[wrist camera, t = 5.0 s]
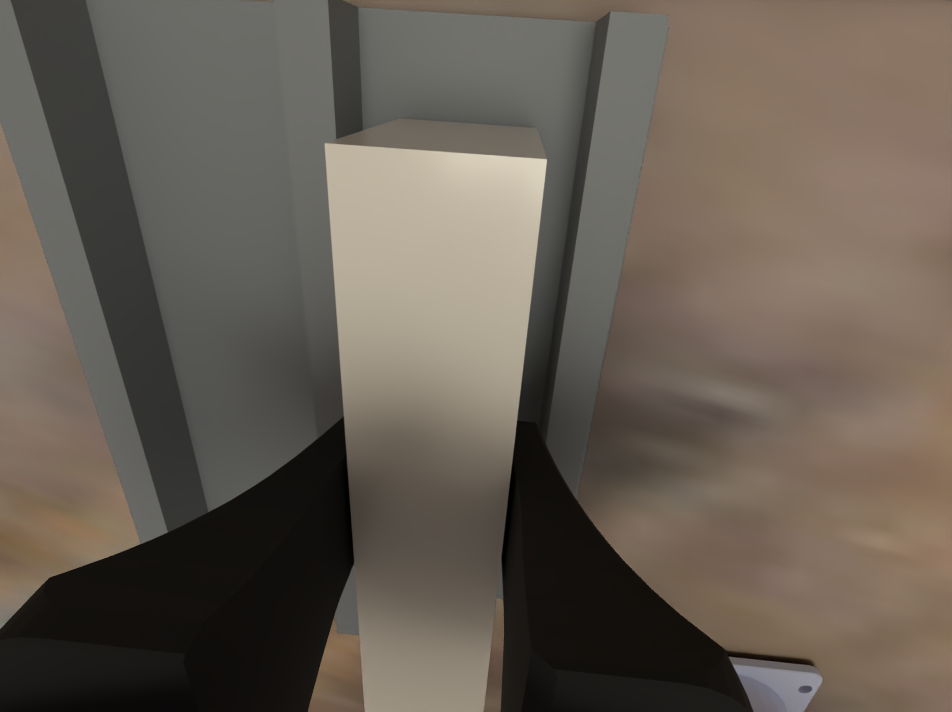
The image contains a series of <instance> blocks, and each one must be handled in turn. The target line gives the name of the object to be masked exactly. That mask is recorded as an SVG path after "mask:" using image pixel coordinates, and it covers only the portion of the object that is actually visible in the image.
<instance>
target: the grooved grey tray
mask: <svg viewBox="0 0 952 712" xmlns="http://www.w3.org/2000/svg"><path fill="white" fill-rule="evenodd" d="M668 16H669V15H664V14H647V13H631V12H615V11H610V12H609V13H608V14H606V15H605V16H604V17H602V18H601V19H600V20H598V21H597V22H585V21H569V20H553V19H537V18H521V17H504V16H488V15H472V14H456V13H440V12H424V11H408V10H392V9H376V8H359V7H356V6H354V5H352V4H349V3H347V2H345V1H342V0H273V2H263V1H247V0H0V122H1V125H2V128H3V131H4V134H5V137H6V140H7V143H8V146H9V149H10V152H11V155H12V158H13V161H14V164H15V167H16V170H17V173H18V176H19V179H20V182H21V185H22V188H23V191H24V194H25V197H26V200H27V203H28V206H29V209H30V212H31V215H32V218H33V221H34V224H35V227H36V230H37V233H38V236H39V239H40V242H41V245H42V248H43V251H44V254H45V257H46V260H47V263H48V266H49V269H50V272H51V275H52V278H53V281H54V284H55V287H56V290H57V293H58V296H59V299H60V302H61V305H62V308H63V311H64V314H65V317H66V320H67V323H68V326H69V329H70V332H71V335H72V338H73V341H74V344H75V347H76V350H77V353H78V356H79V359H80V362H81V365H82V368H83V371H84V374H85V377H86V380H87V383H88V386H89V389H90V392H91V395H92V398H93V401H94V404H95V407H96V410H97V413H98V416H99V419H100V422H101V425H102V428H103V431H104V434H105V437H106V440H107V443H108V446H109V449H110V452H111V455H112V458H113V461H114V464H115V467H116V470H117V473H118V476H119V479H120V482H121V485H122V488H123V491H124V494H125V497H126V500H127V503H128V506H129V509H130V512H131V515H132V518H133V521H134V524H135V527H136V530H137V533H138V536H139V539H140V542H141V544H142V543H145V542H147V541H149V540H152V539H154V538H156V537H159V536H161V535H163V534H165V533H167V532H170V531H172V530H174V529H176V528H178V527H180V526H183V525H184V524H186V523H188V522H190V521H192V520H194V519H196V518H198V517H200V516H202V515H204V514H206V513H208V512H210V511H211V510H213V509H215V508H217V507H219V506H221V505H223V504H225V503H226V502H228V501H230V500H232V499H233V498H235V497H237V496H238V495H240V494H242V493H243V492H245V491H247V490H248V489H250V488H251V487H253V486H255V485H256V484H258V483H259V482H261V481H262V480H264V479H265V478H267V477H268V476H270V475H271V474H272V473H274V472H275V471H276V470H278V469H279V468H281V467H282V466H283V465H285V464H286V463H287V462H289V461H290V460H291V459H293V458H294V457H295V456H297V455H298V454H299V453H300V452H302V451H303V450H304V449H305V448H307V447H308V446H309V445H310V444H311V443H313V442H314V441H315V440H316V439H318V438H319V437H320V436H321V435H322V434H324V433H325V432H326V431H327V430H328V429H329V428H331V427H332V426H333V425H334V424H335V423H336V422H337V421H339V420H340V419H341V418H342V417H343V416H344V411H343V397H342V383H341V369H340V354H339V340H338V326H337V312H336V298H335V284H334V270H333V256H332V242H331V228H330V214H329V200H328V185H327V171H326V157H325V143H327V142H330V141H333V140H336V139H339V138H342V137H345V136H348V135H351V134H354V133H357V132H360V131H363V130H366V129H369V128H372V127H375V126H378V125H381V124H384V123H387V122H390V121H393V120H396V119H399V118H402V119H417V120H431V121H445V122H459V123H474V124H488V125H502V126H516V127H531V128H537V130H538V133H539V136H540V139H541V142H542V145H543V148H544V151H545V154H546V157H547V165H546V174H545V183H544V191H543V200H542V209H541V217H540V226H539V235H538V243H537V252H536V261H535V269H534V278H533V287H532V295H531V304H530V313H529V321H528V330H527V339H526V347H525V356H524V365H523V373H522V382H521V391H520V399H519V408H518V417H517V421H526V422H536V424H537V425H538V426H539V427H540V430H541V433H542V436H543V438H544V441H545V443H546V445H547V448H548V450H549V452H550V454H551V456H552V458H553V460H554V462H555V464H556V466H557V468H558V469H559V471H560V473H561V475H562V477H563V478H564V480H565V482H566V484H567V485H568V487H569V489H570V490H571V492H572V494H573V495H574V497H575V498H576V500H577V495H578V490H579V485H580V479H581V474H582V469H583V464H584V459H585V454H586V449H587V444H588V439H589V434H590V428H591V423H592V418H593V413H594V408H595V403H596V398H597V393H598V388H599V383H600V377H601V372H602V367H603V362H604V357H605V352H606V347H607V342H608V337H609V332H610V326H611V321H612V316H613V311H614V306H615V301H616V296H617V291H618V286H619V280H620V275H621V270H622V265H623V260H624V255H625V250H626V245H627V240H628V235H629V229H630V224H631V219H632V214H633V209H634V204H635V199H636V194H637V189H638V184H639V178H640V173H641V168H642V163H643V158H644V153H645V148H646V143H647V138H648V133H649V127H650V122H651V117H652V112H653V107H654V102H655V97H656V92H657V87H658V82H659V76H660V71H661V66H662V61H663V56H664V51H665V46H666V41H667V36H668V31H669V27H666V26H667V21H668ZM497 598H500V599H503V582H502V562H501V564H500V573H499V581H498V590H497ZM335 616H336V626H337V633H342V634H351V635H359V622H358V608H357V594H356V580H355V566H354V565H353V567H352V570H351V572H350V575H349V578H348V580H347V583H346V585H345V588H344V590H343V593H342V595H341V598H340V601H339V603H338V606H337V609H336V612H335Z"/></svg>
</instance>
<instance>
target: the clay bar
mask: <svg viewBox="0 0 952 712" xmlns="http://www.w3.org/2000/svg"><path fill="white" fill-rule="evenodd" d="M325 157H326V171H327V185H328V200H329V214H330V228H331V242H332V256H333V270H334V284H335V298H336V312H337V326H338V340H339V354H340V369H341V383H342V397H343V411H344V425H345V439H346V453H347V467H348V481H349V495H350V509H351V524H352V538H353V552H354V566H355V580H356V594H357V608H358V622H359V636H360V650H361V664H362V678H363V693H364V707H365V712H483V711H484V703H485V694H486V685H487V677H488V668H489V659H490V651H491V642H492V633H493V625H494V616H495V607H496V599H497V590H498V581H499V573H500V564H501V555H502V547H503V538H504V529H505V521H506V512H507V503H508V495H509V486H510V477H511V469H512V460H513V451H514V443H515V434H516V425H517V417H518V408H519V399H520V391H521V382H522V373H523V365H524V356H525V347H526V339H527V330H528V321H529V313H530V304H531V295H532V287H533V278H534V269H535V261H536V252H537V243H538V235H539V226H540V217H541V209H542V200H543V191H544V183H545V174H546V165H547V157H546V154H545V151H544V148H543V145H542V142H541V139H540V136H539V133H538V130H537V128H531V127H516V126H502V125H488V124H474V123H459V122H445V121H431V120H417V119H402V118H399V119H396V120H393V121H390V122H387V123H384V124H381V125H378V126H375V127H372V128H369V129H366V130H363V131H360V132H357V133H354V134H351V135H348V136H345V137H342V138H339V139H336V140H333V141H330V142H327V143H325Z"/></svg>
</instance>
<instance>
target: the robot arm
mask: <svg viewBox="0 0 952 712" xmlns="http://www.w3.org/2000/svg"><path fill="white" fill-rule="evenodd" d="M501 562H502V582H503V603H504V651H503V675H502V697H501V712H804V710H805V709H806V707H807V706H808V704H809V702H810V701H811V699H812V697H813V696H814V694H815V693H816V691H817V689H818V688H819V686H820V684H821V683H822V680H823V679H822V677H821V675H820V673H819V671H818V669H817V668H816V667H814V666H810V665H803V664H793V663H784V662H775V661H766V660H756V659H747V658H738V657H728V655H727V653H726V651H725V649H724V648H722V647H721V646H720V645H718V644H717V643H716V642H715V641H713V640H712V639H711V638H709V637H708V636H707V635H706V634H704V633H703V632H702V631H701V630H699V629H698V628H697V627H695V626H694V625H693V624H692V623H690V622H689V621H688V620H687V619H685V618H684V617H683V616H681V615H680V614H679V613H678V612H677V611H675V610H674V609H673V608H672V607H671V606H670V605H669V604H668V603H666V602H665V601H664V600H663V599H662V598H661V597H660V596H659V595H658V594H656V593H655V592H654V591H653V590H652V589H651V588H650V587H649V586H648V585H647V584H646V583H645V582H644V581H643V580H642V579H641V578H640V577H639V576H638V575H637V574H636V573H635V572H634V571H633V570H632V569H631V568H630V567H629V566H628V565H627V564H626V563H625V562H624V561H623V560H622V558H621V557H620V556H619V555H618V554H617V553H616V551H615V550H614V549H613V548H612V547H611V546H610V544H609V543H608V542H607V541H606V540H605V538H604V537H603V536H602V535H601V533H600V532H599V531H598V530H597V528H596V527H595V526H594V524H593V523H592V522H591V520H590V519H589V517H588V516H587V515H586V513H585V512H584V510H583V509H582V507H581V506H580V504H579V503H578V501H577V500H576V498H575V497H574V495H573V494H572V492H571V490H570V489H569V487H568V485H567V484H566V482H565V480H564V478H563V477H562V475H561V473H560V471H559V469H558V468H557V466H556V464H555V462H554V460H553V458H552V456H551V454H550V452H549V450H548V448H547V445H546V443H545V441H544V438H543V436H542V433H541V430H540V427H539V426H538V425H537V424H536V422H526V421H517V425H516V434H515V443H514V451H513V460H512V469H511V477H510V486H509V495H508V503H507V512H506V521H505V529H504V538H503V547H502V555H501ZM353 565H354V552H353V538H352V524H351V509H350V495H349V481H348V467H347V453H346V439H345V425H344V416H343V417H342V418H341V419H340V420H339V421H337V422H336V423H335V424H334V425H333V426H332V427H331V428H329V429H328V430H327V431H326V432H325V433H324V434H322V435H321V436H320V437H319V438H318V439H316V440H315V441H314V442H313V443H311V444H310V445H309V446H308V447H307V448H305V449H304V450H303V451H302V452H300V453H299V454H298V455H297V456H295V457H294V458H293V459H291V460H290V461H289V462H287V463H286V464H285V465H283V466H282V467H281V468H279V469H278V470H276V471H275V472H274V473H272V474H271V475H270V476H268V477H267V478H265V479H264V480H262V481H261V482H259V483H258V484H256V485H255V486H253V487H251V488H250V489H248V490H247V491H245V492H243V493H242V494H240V495H238V496H237V497H235V498H233V499H232V500H230V501H228V502H226V503H225V504H223V505H221V506H219V507H217V508H215V509H213V510H211V511H210V512H208V513H206V514H204V515H202V516H200V517H198V518H196V519H194V520H192V521H190V522H188V523H186V524H184V525H183V526H180V527H178V528H176V529H174V530H172V531H170V532H167V533H165V534H163V535H161V536H159V537H156V538H154V539H152V540H149V541H147V542H145V543H142V544H140V545H138V546H135V547H133V548H130V549H128V550H125V551H123V552H120V553H118V554H115V555H113V556H110V557H107V558H104V559H102V560H99V561H96V562H93V563H90V564H88V565H85V566H82V567H79V568H76V569H74V570H71V571H68V572H65V573H62V574H59V575H56V576H53V577H50V578H49V579H48V580H47V581H46V582H45V583H44V584H43V585H42V586H41V587H40V588H39V589H38V590H37V591H36V592H35V593H34V594H33V595H32V596H31V597H30V598H29V599H28V600H27V602H26V603H25V604H24V605H23V606H22V607H21V608H20V609H19V610H18V611H17V612H16V613H15V614H14V615H13V616H12V617H11V618H10V619H9V621H8V622H7V623H6V624H5V625H4V626H3V627H2V628H1V629H0V712H308V708H309V704H310V700H311V697H312V693H313V689H314V686H315V682H316V678H317V674H318V671H319V667H320V663H321V660H322V656H323V653H324V649H325V646H326V642H327V639H328V635H329V632H330V628H331V625H332V621H333V618H334V615H335V612H336V609H337V606H338V603H339V601H340V598H341V595H342V593H343V590H344V588H345V585H346V583H347V580H348V578H349V575H350V572H351V570H352V567H353Z"/></svg>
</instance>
